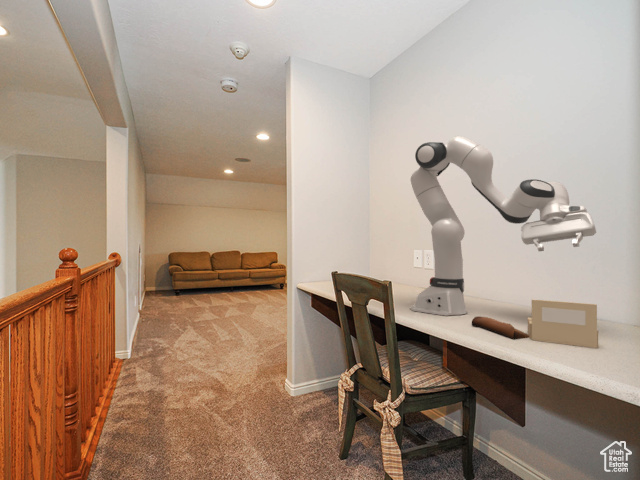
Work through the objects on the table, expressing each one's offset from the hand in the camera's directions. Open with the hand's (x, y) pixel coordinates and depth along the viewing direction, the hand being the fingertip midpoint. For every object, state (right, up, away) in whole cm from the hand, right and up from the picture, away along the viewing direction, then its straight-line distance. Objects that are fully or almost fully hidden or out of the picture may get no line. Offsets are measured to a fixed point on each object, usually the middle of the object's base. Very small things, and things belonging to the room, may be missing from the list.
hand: (557, 247), depth 105 cm
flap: (-7, -27, -12) cm, 31 cm away
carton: (-5, -28, -7) cm, 29 cm away
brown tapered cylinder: (-18, -28, +2) cm, 33 cm away
